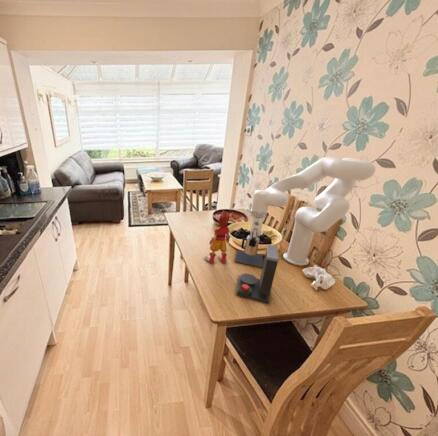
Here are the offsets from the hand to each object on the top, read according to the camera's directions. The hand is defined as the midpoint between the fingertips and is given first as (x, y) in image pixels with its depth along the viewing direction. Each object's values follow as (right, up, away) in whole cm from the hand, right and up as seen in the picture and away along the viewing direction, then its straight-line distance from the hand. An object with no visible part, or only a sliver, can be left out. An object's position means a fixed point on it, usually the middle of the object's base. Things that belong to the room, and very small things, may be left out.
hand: (252, 242), depth 132 cm
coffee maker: (-8, -20, -19) cm, 29 cm away
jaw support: (+25, -19, -16) cm, 35 cm away
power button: (-14, -19, -23) cm, 33 cm away
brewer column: (-8, -17, -20) cm, 27 cm away
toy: (-19, -10, +3) cm, 22 cm away
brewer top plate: (0, -10, +4) cm, 11 cm away
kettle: (-1, -6, +2) cm, 6 cm away
